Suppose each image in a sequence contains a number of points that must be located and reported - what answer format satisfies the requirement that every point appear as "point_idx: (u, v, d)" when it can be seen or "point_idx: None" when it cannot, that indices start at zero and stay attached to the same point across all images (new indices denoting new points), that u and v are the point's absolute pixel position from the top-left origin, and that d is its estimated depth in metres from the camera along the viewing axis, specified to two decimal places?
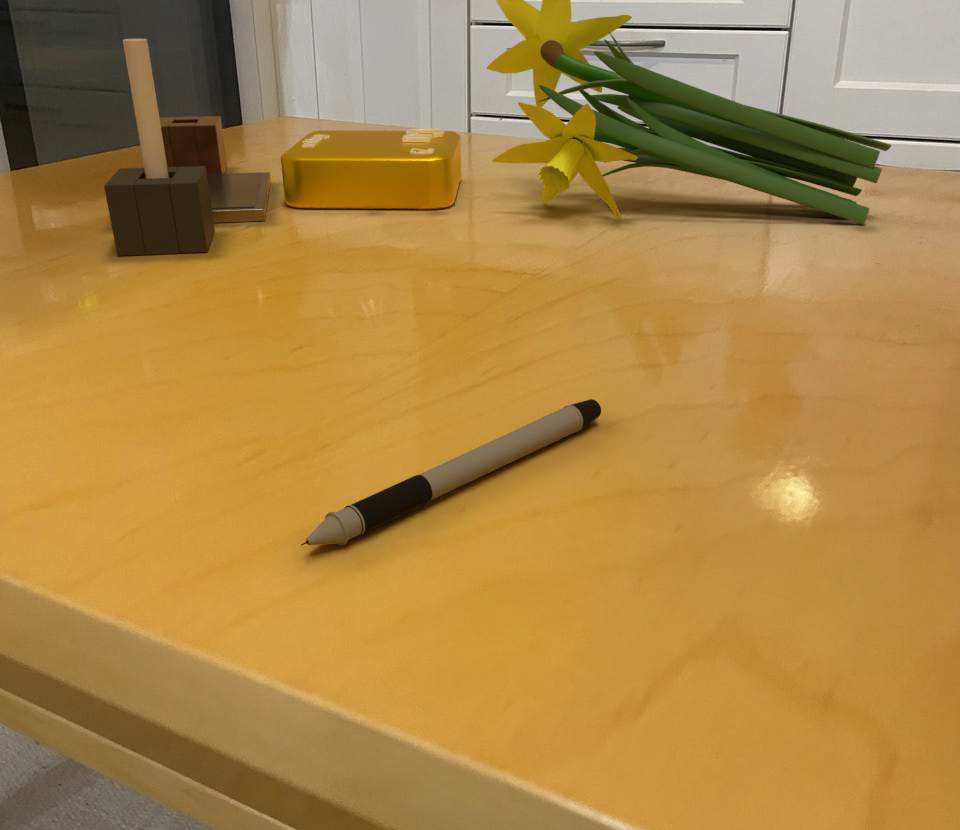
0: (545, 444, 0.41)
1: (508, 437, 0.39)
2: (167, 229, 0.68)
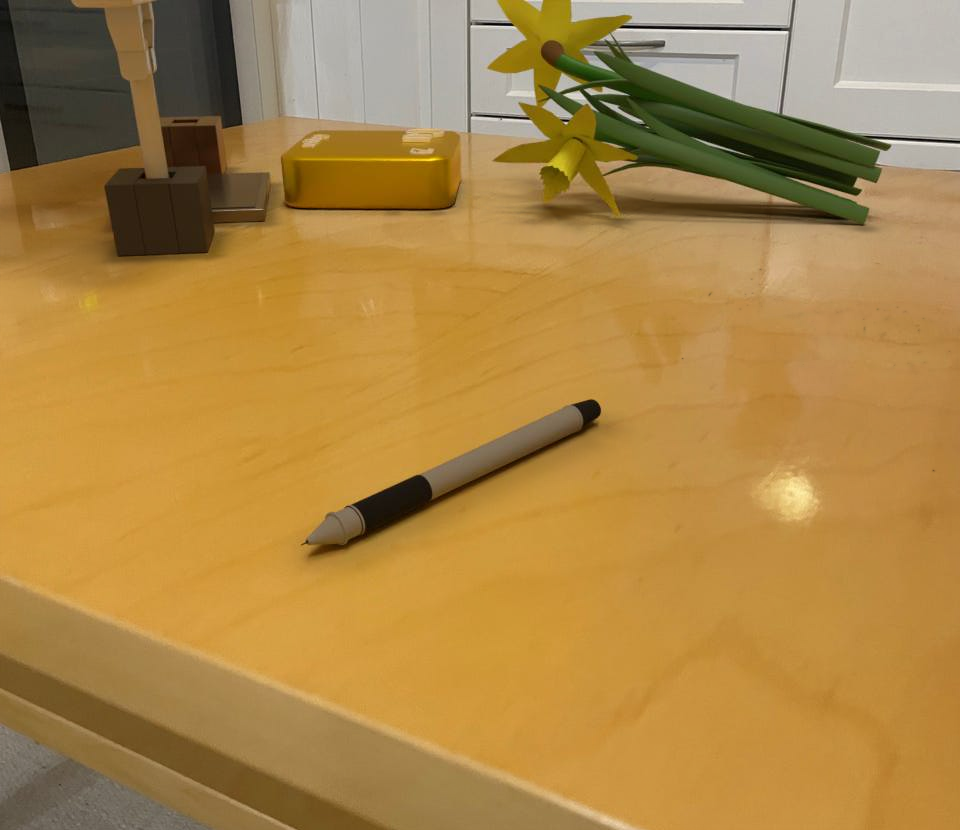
0: (545, 444, 0.41)
1: (508, 437, 0.39)
2: (167, 229, 0.68)
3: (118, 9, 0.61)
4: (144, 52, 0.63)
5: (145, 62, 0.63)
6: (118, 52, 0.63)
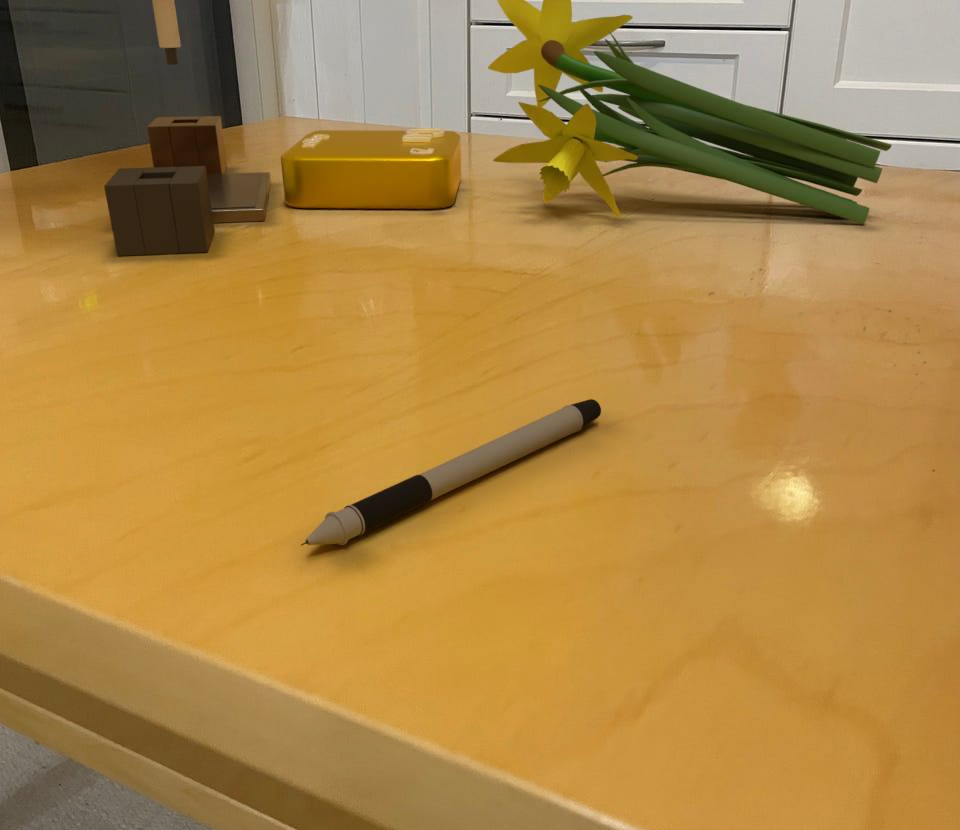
0: (545, 444, 0.41)
1: (508, 437, 0.39)
2: (167, 229, 0.68)
3: None
4: None
5: None
6: None
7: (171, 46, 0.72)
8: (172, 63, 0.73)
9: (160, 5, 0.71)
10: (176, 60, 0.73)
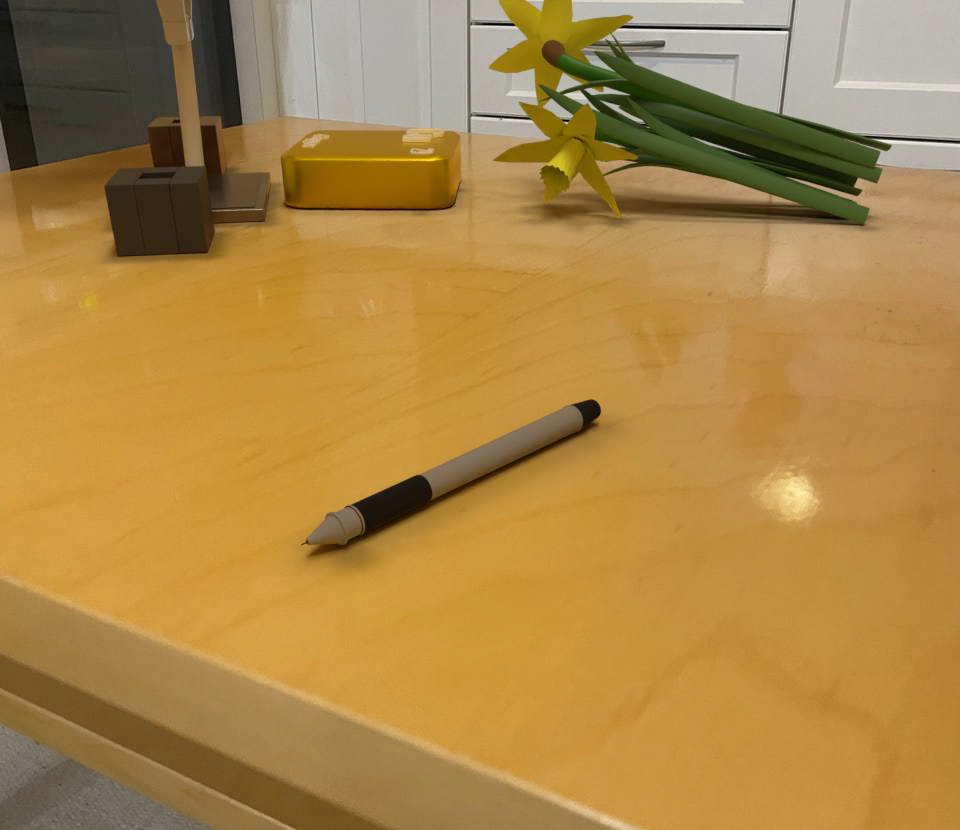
0: (545, 444, 0.41)
1: (508, 437, 0.39)
2: (167, 229, 0.68)
3: None
4: (185, 22, 0.77)
5: (185, 30, 0.77)
6: (163, 22, 0.76)
7: None
8: None
9: (189, 140, 0.81)
10: None
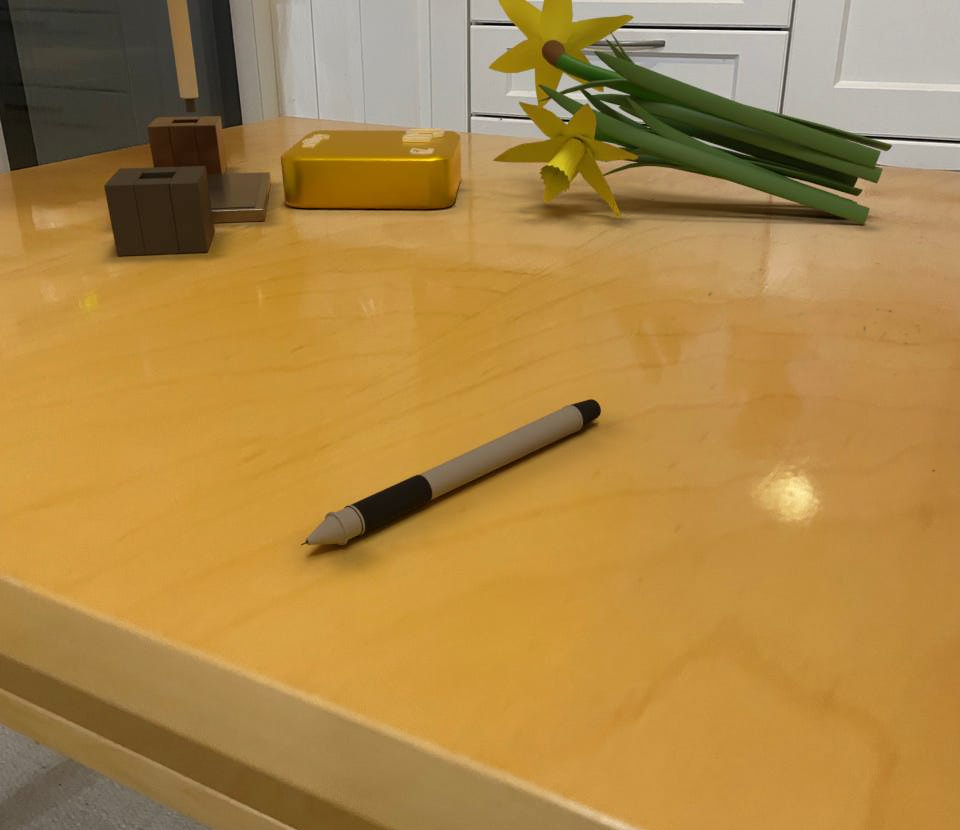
0: (545, 444, 0.41)
1: (508, 437, 0.39)
2: (167, 229, 0.68)
3: None
4: None
5: None
6: None
7: (190, 97, 0.83)
8: (191, 111, 0.84)
9: (182, 62, 0.82)
10: (194, 108, 0.84)
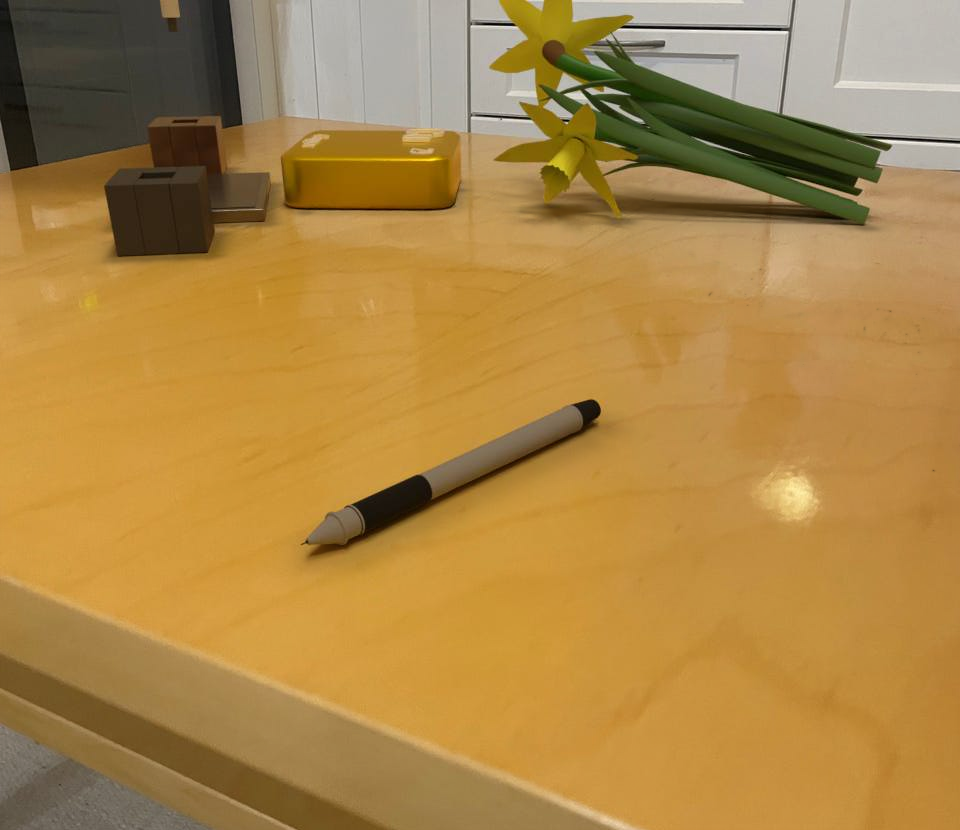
0: (545, 444, 0.41)
1: (507, 437, 0.39)
2: (167, 229, 0.68)
3: None
4: None
5: None
6: None
7: (172, 16, 0.88)
8: (173, 30, 0.88)
9: None
10: (176, 28, 0.88)
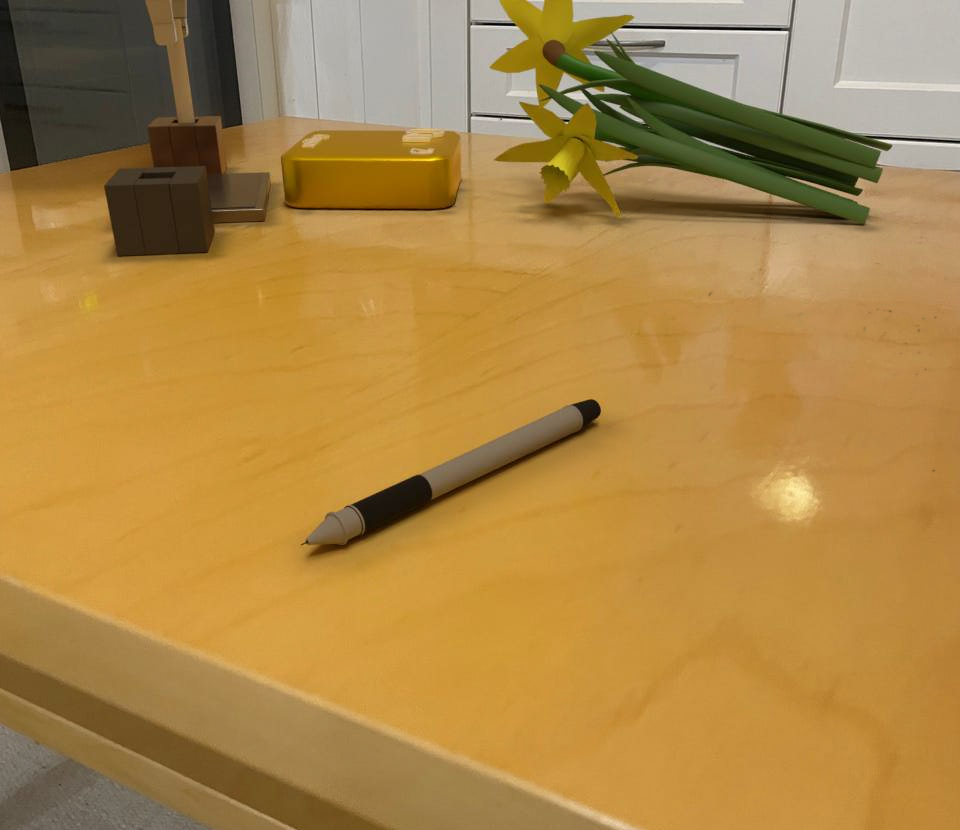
0: (545, 444, 0.41)
1: (507, 437, 0.39)
2: (167, 229, 0.68)
3: None
4: (172, 24, 0.84)
5: (173, 31, 0.84)
6: (153, 24, 0.84)
7: None
8: None
9: None
10: None
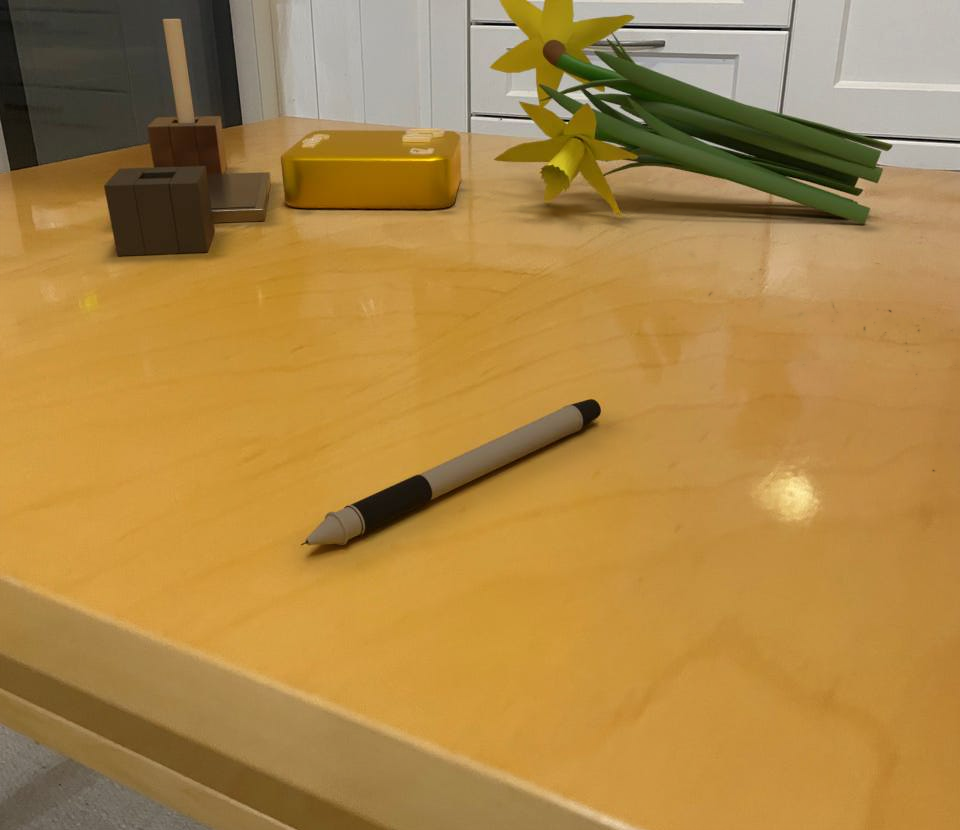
0: (545, 444, 0.41)
1: (507, 437, 0.39)
2: (167, 229, 0.68)
3: None
4: None
5: None
6: None
7: None
8: None
9: None
10: None
